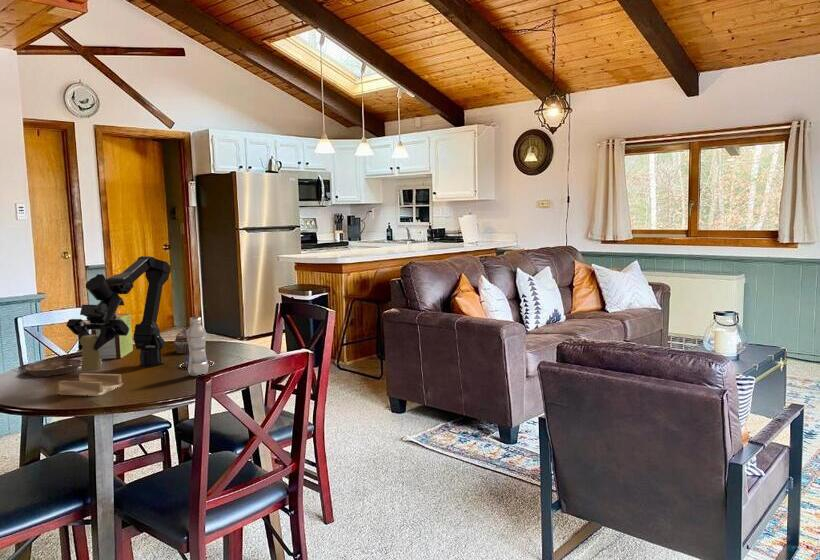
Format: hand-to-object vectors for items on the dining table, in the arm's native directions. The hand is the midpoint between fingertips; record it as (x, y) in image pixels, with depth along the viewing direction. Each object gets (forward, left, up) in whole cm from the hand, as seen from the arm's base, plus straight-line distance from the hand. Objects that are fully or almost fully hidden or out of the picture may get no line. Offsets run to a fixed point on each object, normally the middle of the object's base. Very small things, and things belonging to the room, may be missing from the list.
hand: (87, 349), depth 191 cm
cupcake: (-52, -23, -13) cm, 58 cm away
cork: (-1, -1, -7) cm, 7 cm away
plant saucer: (-7, -37, -14) cm, 40 cm away
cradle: (-1, -1, -13) cm, 13 cm away
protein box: (-33, -44, -14) cm, 57 cm away
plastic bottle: (-30, +14, -13) cm, 36 cm away
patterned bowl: (-39, +1, -14) cm, 41 cm away
